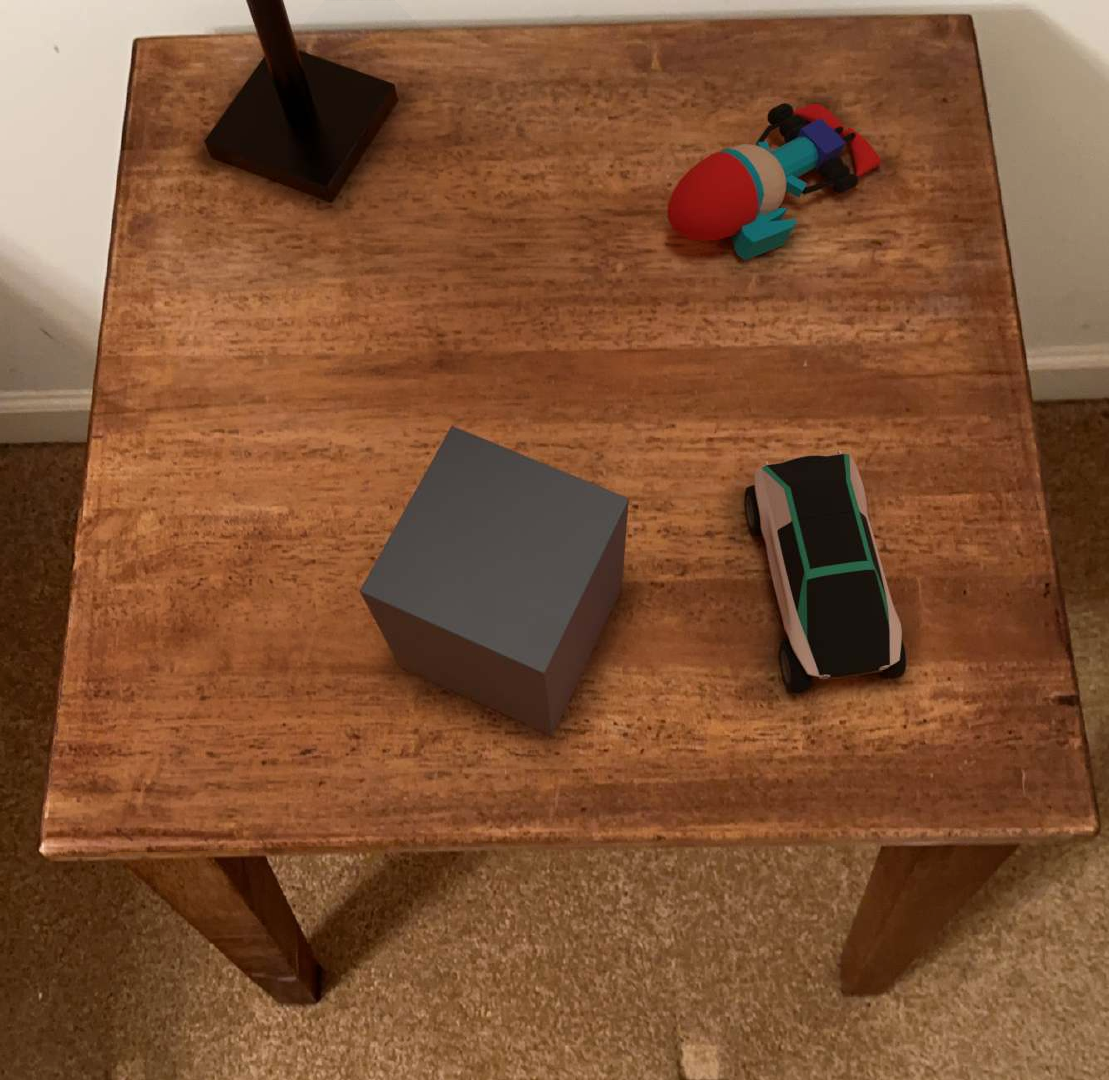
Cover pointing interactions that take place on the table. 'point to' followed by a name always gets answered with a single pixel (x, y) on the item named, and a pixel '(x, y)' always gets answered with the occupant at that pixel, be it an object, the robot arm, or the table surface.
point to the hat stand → (299, 113)
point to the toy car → (825, 571)
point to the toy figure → (766, 180)
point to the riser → (500, 578)
